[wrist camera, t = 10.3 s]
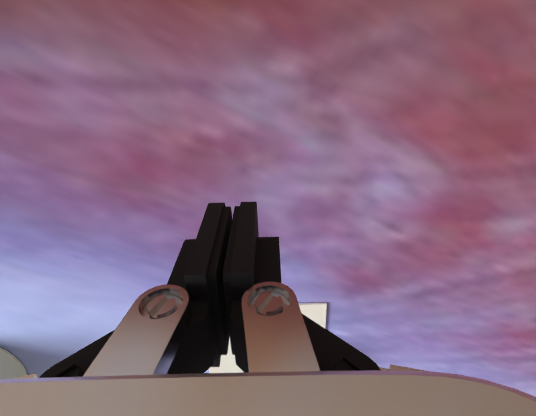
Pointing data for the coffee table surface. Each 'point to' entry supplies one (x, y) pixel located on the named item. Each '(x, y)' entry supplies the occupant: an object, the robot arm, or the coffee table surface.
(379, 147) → the coffee table surface
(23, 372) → the can
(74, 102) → the coffee table surface
